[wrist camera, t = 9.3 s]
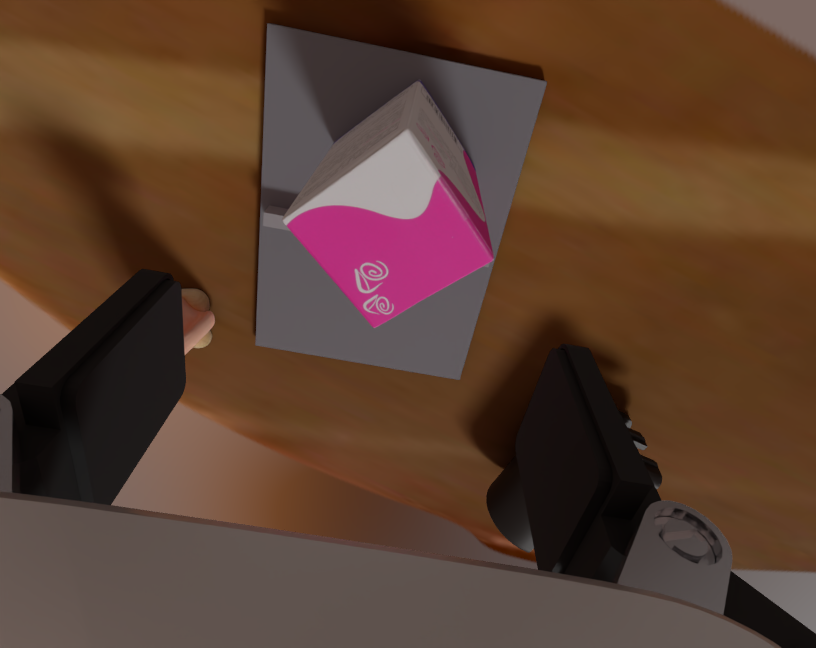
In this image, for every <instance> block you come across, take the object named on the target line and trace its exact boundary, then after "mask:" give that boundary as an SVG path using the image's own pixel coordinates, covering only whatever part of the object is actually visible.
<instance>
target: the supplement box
mask: <svg viewBox="0 0 816 648" xmlns="http://www.w3.org/2000/svg"><path fill="white" fill-rule="evenodd" d="M282 221H283V222H284V224H285V225H286V226H287V227H288V228H289V229H290V231H291V232H292V233H293V234H294V236H295V237H296V238H297V239H298V240H299V241H300V242H301V244H302V245H303V246H304V247H305V248H306V249H307V251H308V252H309V253H310V254H311V255H312V256H313V258H314V259H315V260H316V261H317V262H318V263H319V265H320V266H321V267H322V268H323V269H324V271H325V272H326V273H327V274H328V275H329V276H330V278H331V279H332V280H333V281H334V282H335V283H336V284H337V286H338V287H339V288H340V289H341V291H342V292H343V293H344V294H345V295H346V296H347V297H348V299H349V300H350V301H351V302H352V303H353V305H354V306H355V307H356V308H357V309H358V310H359V312H360V313H361V314H362V315H363V316H364V317H365V319H366V320H367V321H368V322H369V323H370V325H371V326H372V327H373V328H376V327H378V326H379V325H381V324H383V323H385V322H387V321H388V320H390V319H392V318H393V317H395V316H397V315H399V314H400V313H402V312H404V311H405V310H407V309H408V308H410V307H412V306H413V305H415V304H417V303H418V302H420V301H422V300H423V299H425V298H427V297H429V296H431V295H433V294H434V293H436V292H438V291H440V290H441V289H443V288H445V287H447V286H449V285H450V284H452V283H454V282H456V281H458V280H459V279H461V278H463V277H465V276H467V275H468V274H470V273H472V272H474V271H476V270H477V269H479V268H481V267H483V266H485V265H486V264H488V263H490V262H492V261H493V260H494V255H493V250H492V245H491V241H490V236H489V231H488V226H487V222H486V217H485V213H484V208H483V204H482V199H481V194H480V189H479V184H478V180H477V175H476V169H475V167H474V165H473V163H472V161H471V159H470V158H469V156H468V154H467V153H466V151H465V149H464V148H463V146H462V144H461V143H460V141H459V139H458V138H457V136H456V134H455V133H454V131H453V130H452V128H451V126H450V125H449V123H448V122H447V120H446V118H445V117H444V115H443V114H442V112H441V110H440V109H439V107H438V106H437V104H436V103H435V101H434V99H433V98H432V96H431V95H430V93H429V92H428V90H427V89H426V87H425V86H424V84H423V83H422V81H421V80H420V79H419V80H417V81H415V82H414V83H413V84H411V85H410V86H409V87H407V88H406V89H405V90H403V91H402V92H401V93H399V94H398V95H397V96H395V97H394V98H392V99H391V100H390V101H388V102H387V103H386V104H384V105H383V106H382V107H380V108H379V109H378V110H376V111H375V112H374V113H372V114H371V115H369V116H368V117H367V118H365V119H364V120H363V121H361V122H360V123H359V124H357V125H356V126H355V127H353V128H352V129H351V130H349V131H348V132H347V133H345V134H344V135H343V136H341V137H340V138H339V139H338V140H336V141H335V142H334V143H333V145H332V147H331V148H330V150H329V151H328V153H327V155H326V156H325V157H324V159H323V160H322V162H321V163H320V164H319V166H318V167H317V169H316V170H315V172H314V173H313V175H312V176H311V177H310V179H309V180H308V182H307V183H306V185H305V186H304V188H303V189H302V191H301V192H300V193H299V195H298V196H297V198H296V199H295V200H294V202H293V203H292V205H291V206H290V208H289V209H288V211H287V212H286V214H285V215H284V217H283V218H282Z"/></svg>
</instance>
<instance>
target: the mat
mask: <svg viewBox="0 0 816 648" xmlns="http://www.w3.org/2000/svg"><path fill="white" fill-rule="evenodd" d="M419 79H420V80H421V81H422V83H423V84H424V86H425V87H426V89H427V90H428V92H429V93H430V95H431V96H432V98H433V99H434V101H435V103H436V104H437V106H438V107H439V109H440V110H441V112H442V114H443V115H444V117H445V118H446V120H447V122H448V123H449V125H450V126H451V128H452V130H453V131H454V133H455V134H456V136H457V138H458V139H459V141H460V143H461V144H462V146H463V148H464V149H465V151H466V153H467V154H468V156H469V158H470V159H471V161H472V163H473V165H474V167H475V169H476V175H477V180H478V184H479V189H480V194H481V199H482V204H483V208H484V213H485V217H486V222H487V226H488V231H489V236H490V241H491V245H492V250H493V255H494V260H493V261H492V262H490V263H488V264H486V265H485V266H483V267H481V268H479V269H477V270H476V271H474V272H472V273H470V274H468V275H467V276H465V277H463V278H461V279H459V280H458V281H456V282H454V283H452V284H450V285H449V286H447V287H445V288H443V289H441V290H440V291H438V292H436V293H434V294H433V295H431V296H429V297H427V298H425V299H423V300H422V301H420V302H418V303H417V304H415V305H413V306H412V307H410V308H408V309H407V310H405V311H404V312H402V313H400V314H399V315H397V316H395V317H393V318H392V319H390V320H388V321H387V322H385V323H383V324H381V325H379V326H378V327H376V328H373V327H372V326H371V325H370V323H369V322H368V321H367V320H366V319H365V317H364V316H363V315H362V314H361V313H360V312H359V310H358V309H357V308H356V307H355V306H354V305H353V303H352V302H351V301H350V300H349V299H348V297H347V296H346V295H345V294H344V293H343V292H342V291H341V289H340V288H339V287H338V286H337V284H336V283H335V282H334V281H333V280H332V279H331V278H330V276H329V275H328V274H327V273H326V272H325V271H324V269H323V268H322V267H321V266H320V265H319V263H318V262H317V261H316V260H315V259H314V258H313V256H312V255H311V254H310V253H309V252H308V251H307V249H306V248H305V247H304V246H303V245H302V244H301V242H300V241H299V240H298V239H297V238H296V237H295V236H294V234H293V233H292V232H291V231H290V229H289V228H288V227H287V226H286V225H285V224H284V222H283V221H282V218H283V217H284V215H285V214H286V212H287V211H288V209H289V208H290V206H291V205H292V203H293V202H294V200H295V199H296V198H297V196H298V195H299V193H300V192H301V191H302V189H303V188H304V186H305V185H306V183H307V182H308V180H309V179H310V177H311V176H312V175H313V173H314V172H315V170H316V169H317V167H318V166H319V164H320V163H321V162H322V160H323V159H324V157H325V156H326V155H327V153H328V151H329V150H330V148H331V147H332V145H333V143H334V142H335V141H336V140H338V139H339V138H340V137H341V136H343V135H344V134H345V133H347V132H348V131H349V130H351V129H352V128H353V127H355V126H356V125H357V124H359V123H360V122H361V121H363V120H364V119H365V118H367V117H368V116H369V115H371V114H372V113H374V112H375V111H376V110H378V109H379V108H380V107H382V106H383V105H384V104H386V103H387V102H388V101H390V100H391V99H392V98H394V97H395V96H397V95H398V94H399V93H401V92H402V91H403V90H405V89H406V88H407V87H409V86H410V85H411V84H413V83H414V82H415V81H417V80H419ZM546 84H547V82H546V81H545V80H540V79H535V78H530V77H525V76H521V75H516V74H511V73H506V72H501V71H497V70H492V69H487V68H482V67H478V66H473V65H468V64H463V63H458V62H454V61H449V60H444V59H439V58H434V57H430V56H425V55H420V54H415V53H411V52H406V51H401V50H396V49H391V48H387V47H382V46H377V45H372V44H367V43H363V42H358V41H353V40H348V39H344V38H339V37H334V36H329V35H324V34H320V33H315V32H310V31H305V30H300V29H296V28H291V27H286V26H281V25H277V24H272V23H267V44H266V71H265V98H264V126H263V153H262V181H261V208H260V235H259V263H258V290H257V317H256V345H257V346H263V347H269V348H275V349H281V350H287V351H293V352H299V353H304V354H310V355H316V356H322V357H328V358H334V359H340V360H345V361H351V362H357V363H363V364H369V365H375V366H381V367H386V368H392V369H398V370H404V371H410V372H416V373H422V374H428V375H433V376H439V377H445V378H451V379H457V380H460V376H461V373H462V370H463V366H464V363H465V359H466V356H467V353H468V349H469V346H470V342H471V339H472V336H473V332H474V329H475V325H476V322H477V319H478V315H479V312H480V308H481V305H482V302H483V298H484V295H485V292H486V288H487V285H488V281H489V278H490V275H491V271H492V268H493V264H494V261H495V258H496V254H497V251H498V247H499V244H500V241H501V237H502V234H503V230H504V227H505V224H506V220H507V217H508V213H509V210H510V207H511V203H512V200H513V196H514V193H515V190H516V186H517V183H518V179H519V176H520V173H521V169H522V166H523V162H524V159H525V156H526V152H527V149H528V145H529V142H530V139H531V135H532V132H533V128H534V125H535V122H536V118H537V115H538V111H539V108H540V105H541V101H542V98H543V94H544V91H545V88H546Z"/></svg>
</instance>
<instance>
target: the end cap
mask: <svg viewBox="0 0 816 648" xmlns="http://www.w3.org/2000/svg"><path fill="white" fill-rule="evenodd" d="M618 412H619V413H620V414H621V416H622V417H623V420H624V422H625V424H626V426H627V428H628V430H629V432H630V434H631V437H632V439H633V441H634V443H635V445H636V447H637V448H639V449H641V450H645V449H646V448H647V445H646V443H645V439H644V437H642V435H641V433H639V432H637V431H635V430H632V429H630V427H631V425H632V422H631V420H630V418H629V416H628V415H626V414H624V413H622V412H620V411H618ZM640 456H641V458H642V460H643V462H644V464H645V466H646V469H647V471H648V473H649V475H650V477H651V479H652V481H653V483H654V486H655V488H656V489H658V487H659V486H660V485H661V482H662V475H661V473H660V471H659V469H658V465H657V463H656V462H655V461H654V460H652V459H649V458H647V457H645V456H642V455H640ZM487 507H488V511H489V513H490V516H491V518H492V520H493V522H494V524H495V525H496V527H497V528H498V529H499V531H500V532H501V533H502V534H503V535H504V536H505V537H506V538H507V539H508V540H509V541H510V542H511V543H512V544H514V545H515V546H517V547H518V548H520V549H522V550H524V551H526V552H528V553H529V552H530V551H531V550H532V549H534V545H533V540H532V535H531V529H530V524H529V519H528V514H527V508H526V503H525V498H524V493H523V487H522V482H521V477H520V472H519V466H518V461H517V456H515V457H514V458H513V460H512V461H511V462H510V463H509V464H508V466H507V467H506V468H505V469H504V470H503V471H502V473H501V474H500V475H499V476H498V477H497V478H496V480H495V481H494V482H493V483H492V484H491V486H490V487H489V489H488V492H487Z"/></svg>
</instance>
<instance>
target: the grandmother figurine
mask: <svg viewBox="0 0 816 648" xmlns="http://www.w3.org/2000/svg"><path fill="white" fill-rule="evenodd" d="M181 291H182V311H183V331H184V352H185V354H186V353H187V352H188V351H190V350H191V349H192V348H193V347H194V348H202V347H205V346H207V345H208V344H209V343H210V341H211V338H212V333H211V331H210V329H211V328H212V327H213V325H214V323H215V317H214V314H213V313H212V312H211V311H209V308H210V302H209V298H208V297H207V295H206V294H205V293H204V292H203V291H201V290H199V289H193V288H191V289H181Z"/></svg>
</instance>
